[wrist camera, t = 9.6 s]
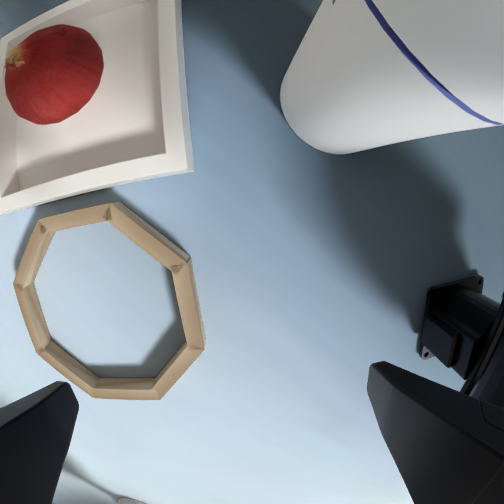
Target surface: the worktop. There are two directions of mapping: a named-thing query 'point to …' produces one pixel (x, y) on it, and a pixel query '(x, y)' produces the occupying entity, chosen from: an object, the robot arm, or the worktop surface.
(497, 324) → the robot arm
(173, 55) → the tray
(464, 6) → the cylindrical container
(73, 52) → the onion
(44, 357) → the ring collar
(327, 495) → the worktop surface
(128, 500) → the chalice
